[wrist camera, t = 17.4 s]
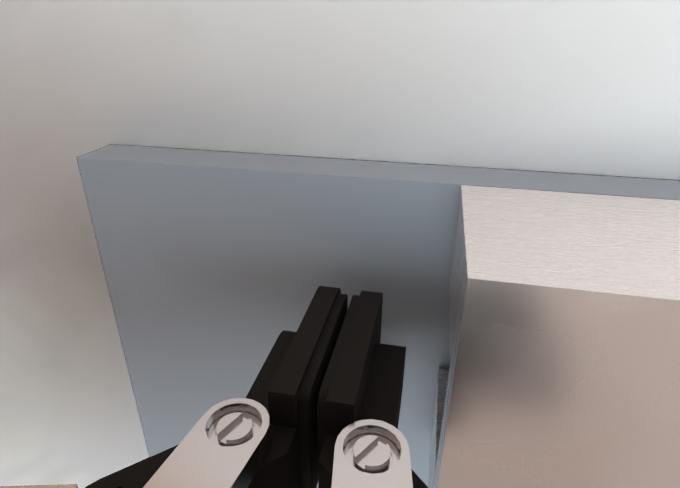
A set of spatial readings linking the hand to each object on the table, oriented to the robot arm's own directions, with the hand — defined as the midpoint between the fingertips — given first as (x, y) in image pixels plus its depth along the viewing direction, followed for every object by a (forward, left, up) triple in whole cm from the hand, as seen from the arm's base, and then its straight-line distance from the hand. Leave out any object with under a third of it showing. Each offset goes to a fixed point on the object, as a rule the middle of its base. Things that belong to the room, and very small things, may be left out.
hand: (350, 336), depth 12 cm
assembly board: (+2, -5, -3) cm, 6 cm away
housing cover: (+6, 0, -1) cm, 6 cm away
